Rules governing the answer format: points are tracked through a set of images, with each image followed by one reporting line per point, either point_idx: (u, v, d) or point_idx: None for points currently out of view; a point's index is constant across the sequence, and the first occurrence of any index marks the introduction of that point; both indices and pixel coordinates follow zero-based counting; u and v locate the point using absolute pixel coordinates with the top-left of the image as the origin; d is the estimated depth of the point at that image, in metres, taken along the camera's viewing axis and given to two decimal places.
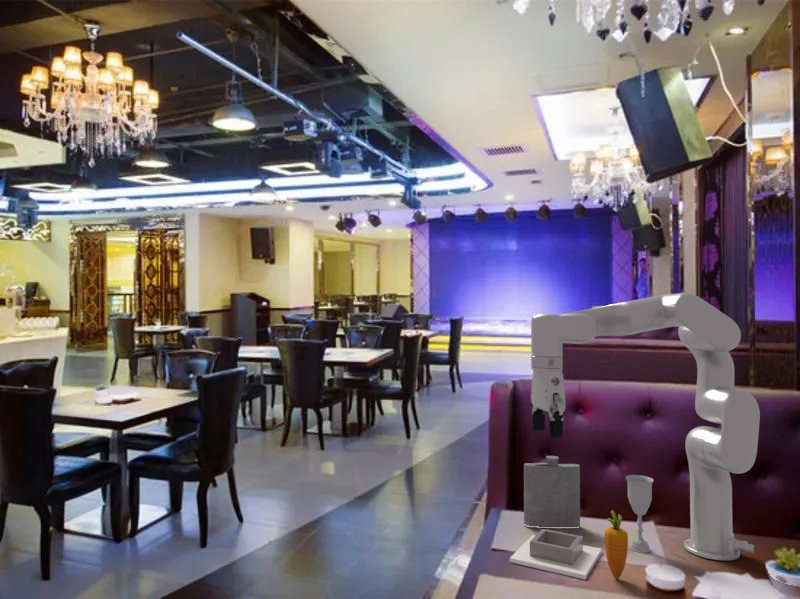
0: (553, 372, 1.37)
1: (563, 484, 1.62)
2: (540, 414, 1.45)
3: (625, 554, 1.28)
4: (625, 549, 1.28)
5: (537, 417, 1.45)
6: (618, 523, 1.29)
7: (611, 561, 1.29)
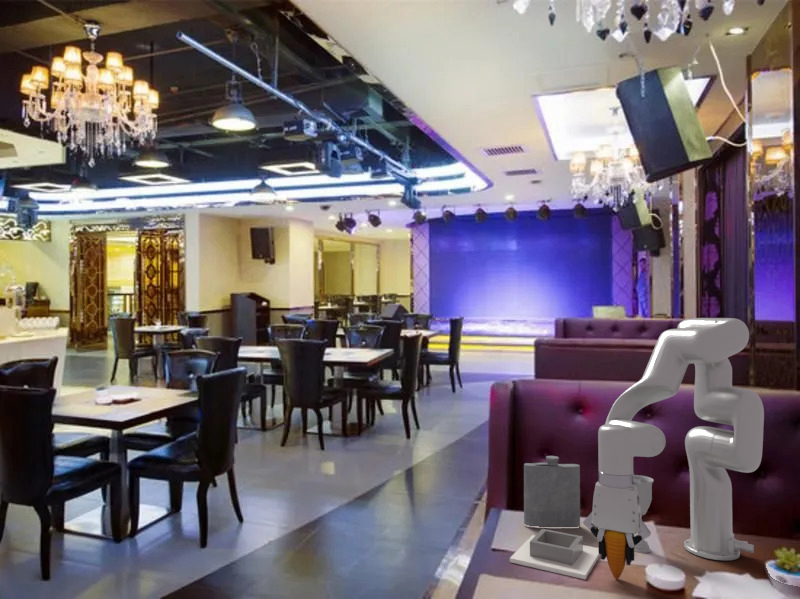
0: (635, 490, 1.28)
1: (563, 484, 1.62)
2: None
3: (625, 554, 1.28)
4: (625, 549, 1.28)
5: None
6: None
7: (611, 561, 1.29)
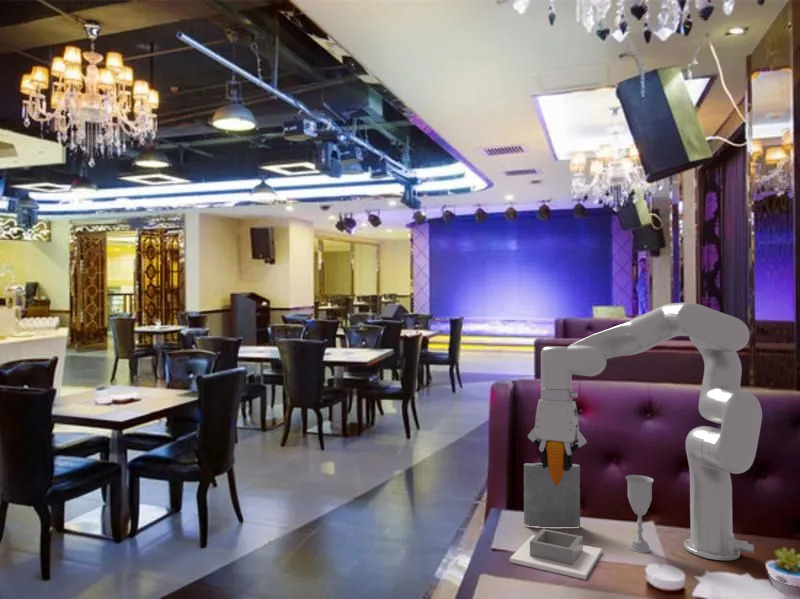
0: (573, 404, 1.41)
1: (563, 484, 1.62)
2: None
3: None
4: (563, 457, 1.41)
5: (546, 454, 1.44)
6: None
7: (551, 469, 1.41)
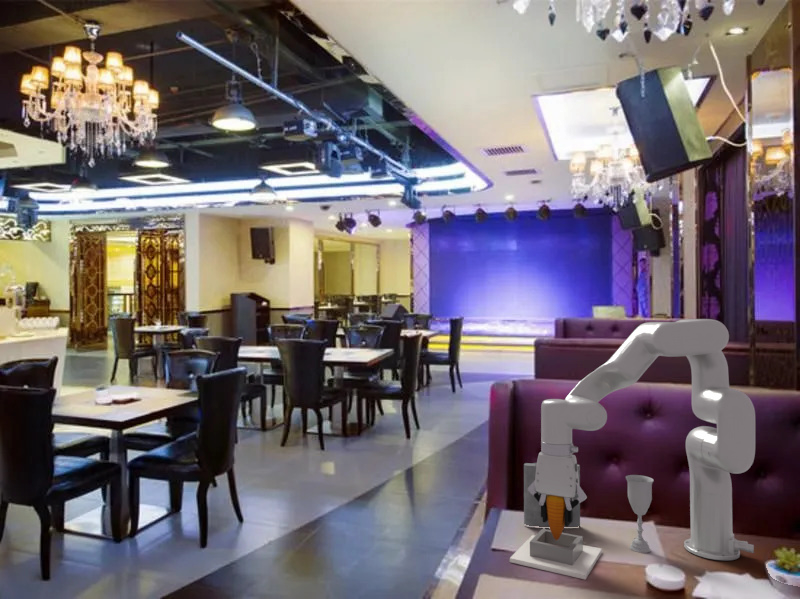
0: (573, 458, 1.40)
1: None
2: None
3: (564, 517, 1.40)
4: (563, 512, 1.40)
5: (546, 508, 1.43)
6: None
7: (551, 523, 1.41)
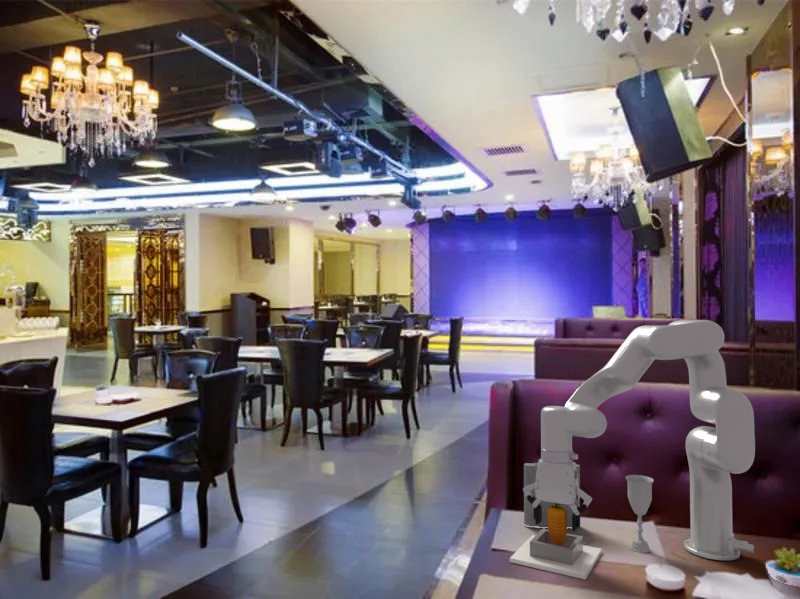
0: (573, 465, 1.40)
1: None
2: (539, 507, 1.45)
3: (565, 530, 1.40)
4: (564, 525, 1.40)
5: (539, 511, 1.44)
6: None
7: (552, 537, 1.41)
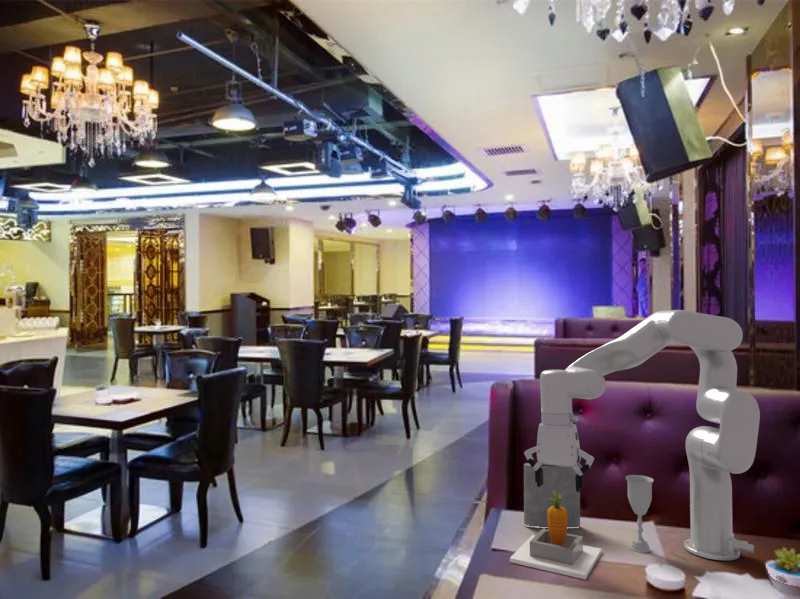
0: (573, 427, 1.41)
1: (563, 484, 1.62)
2: (541, 469, 1.45)
3: (565, 530, 1.40)
4: (564, 525, 1.40)
5: (540, 473, 1.44)
6: (558, 502, 1.41)
7: (553, 537, 1.41)
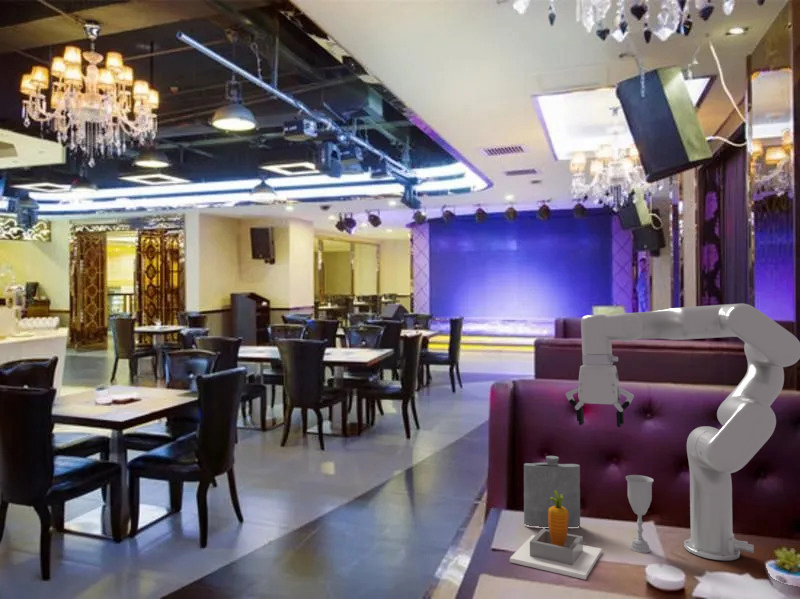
0: (614, 367, 1.50)
1: (563, 484, 1.62)
2: (582, 409, 1.54)
3: (566, 530, 1.40)
4: (565, 525, 1.40)
5: (582, 412, 1.53)
6: (560, 501, 1.41)
7: (553, 537, 1.41)
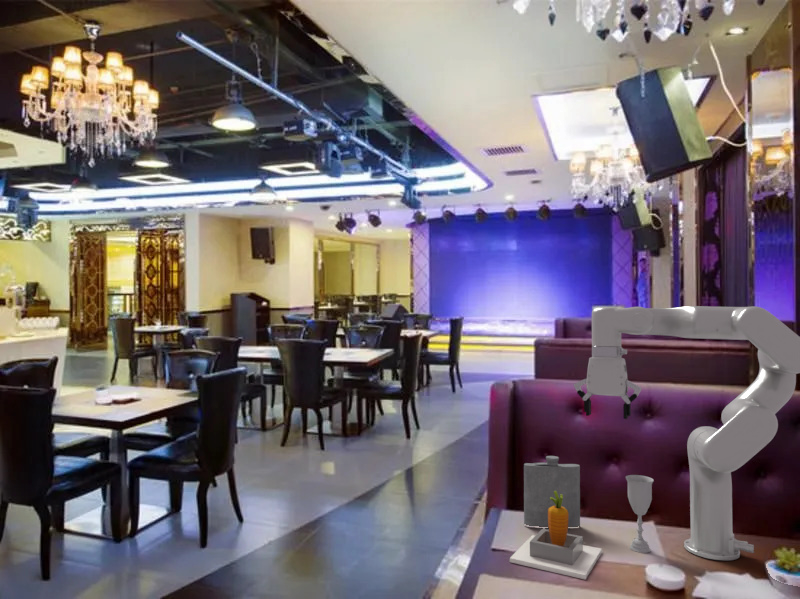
0: (623, 360, 1.51)
1: (563, 484, 1.62)
2: (589, 400, 1.56)
3: (565, 530, 1.40)
4: (565, 525, 1.40)
5: (589, 403, 1.55)
6: (559, 502, 1.41)
7: (553, 537, 1.41)
